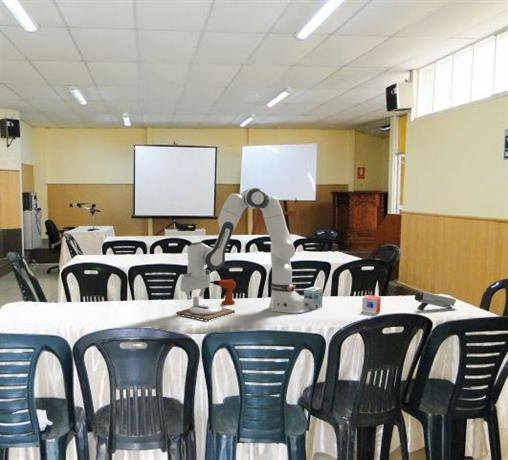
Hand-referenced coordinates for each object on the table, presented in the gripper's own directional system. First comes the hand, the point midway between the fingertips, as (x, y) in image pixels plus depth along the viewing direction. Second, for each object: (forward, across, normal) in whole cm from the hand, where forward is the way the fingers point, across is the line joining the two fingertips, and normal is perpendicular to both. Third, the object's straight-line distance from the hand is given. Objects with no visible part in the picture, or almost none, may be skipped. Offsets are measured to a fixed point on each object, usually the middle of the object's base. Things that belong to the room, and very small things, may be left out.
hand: (195, 297), depth 258 cm
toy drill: (+8, +22, +1) cm, 24 cm away
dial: (+6, 0, -7) cm, 9 cm away
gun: (+6, +88, -102) cm, 135 cm away
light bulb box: (+7, +49, -45) cm, 67 cm away
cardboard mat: (+8, 0, -7) cm, 11 cm away
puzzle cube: (+7, +61, -75) cm, 97 cm away
